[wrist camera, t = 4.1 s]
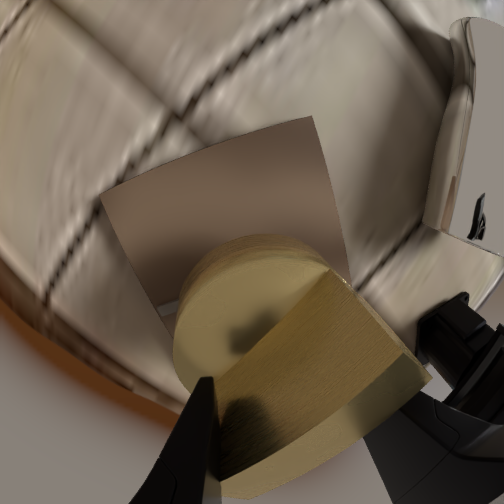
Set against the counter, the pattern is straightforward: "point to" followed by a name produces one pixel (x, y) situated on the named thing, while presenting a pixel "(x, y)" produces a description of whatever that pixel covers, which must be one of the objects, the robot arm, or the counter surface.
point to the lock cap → (286, 359)
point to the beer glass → (471, 141)
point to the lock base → (225, 207)
